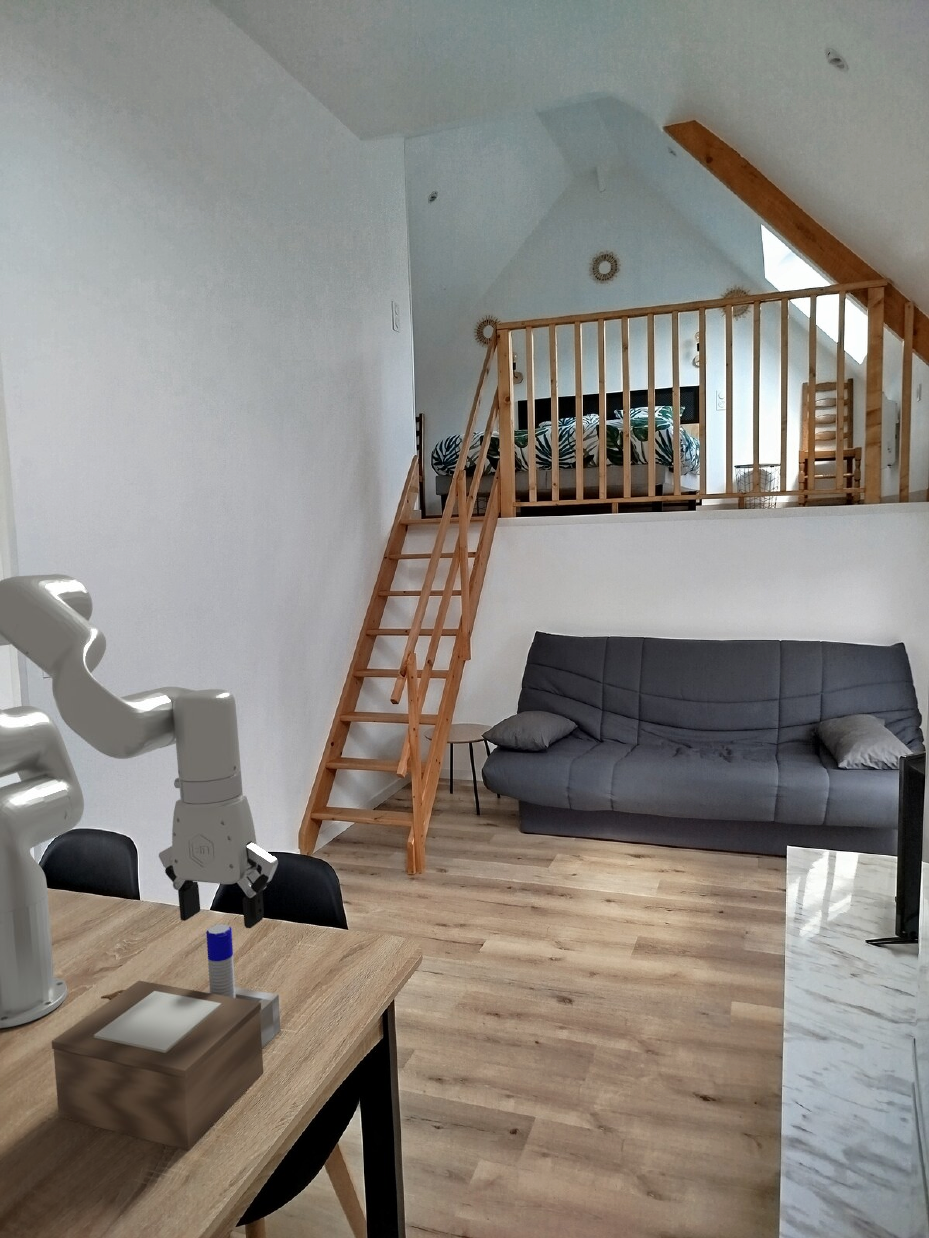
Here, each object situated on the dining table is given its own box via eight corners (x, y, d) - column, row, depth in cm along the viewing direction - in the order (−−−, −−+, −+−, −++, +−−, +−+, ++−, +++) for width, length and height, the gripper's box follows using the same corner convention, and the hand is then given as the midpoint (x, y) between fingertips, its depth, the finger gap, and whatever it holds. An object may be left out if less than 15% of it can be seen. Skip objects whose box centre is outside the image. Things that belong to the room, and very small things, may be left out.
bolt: (250, 1033, 111) (239, 1056, 106) (212, 1034, 111) (200, 1057, 106) (243, 919, 110) (232, 937, 105) (205, 920, 110) (192, 938, 105)
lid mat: (93, 1037, 96) (93, 1034, 96) (154, 993, 105) (154, 990, 105) (165, 1052, 92) (165, 1050, 92) (221, 1005, 102) (221, 1003, 102)
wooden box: (57, 1116, 96) (51, 1040, 95) (186, 1012, 117) (182, 950, 116) (190, 1150, 90) (185, 1070, 89) (301, 1034, 111) (297, 968, 110)
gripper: (135, 793, 105) (146, 925, 107) (252, 800, 99) (263, 940, 101) (175, 777, 112) (185, 902, 114) (286, 783, 106) (296, 914, 108)
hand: (222, 919), depth 107 cm, fingers open, 9 cm apart
